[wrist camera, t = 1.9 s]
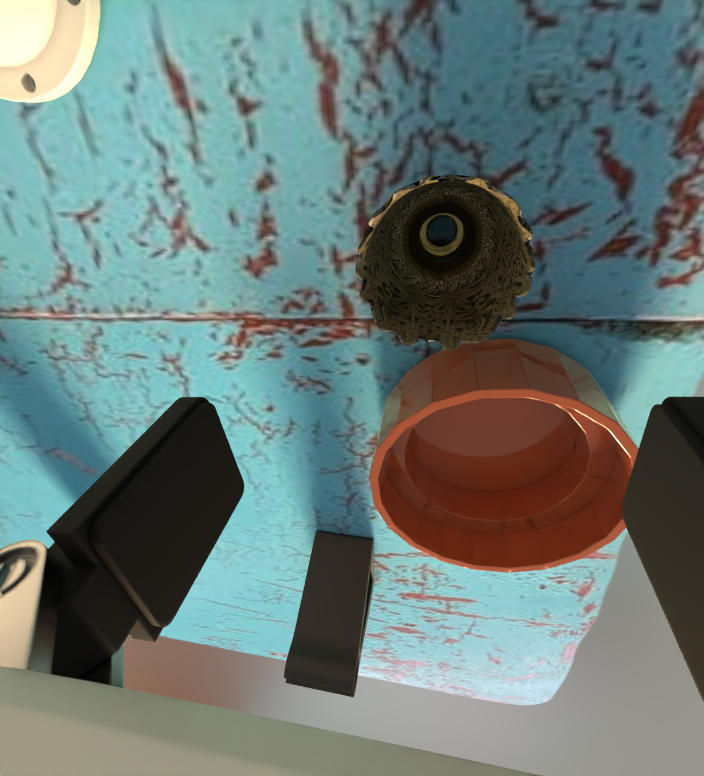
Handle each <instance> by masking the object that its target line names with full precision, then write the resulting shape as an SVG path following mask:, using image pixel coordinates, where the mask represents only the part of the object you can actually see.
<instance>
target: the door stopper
mask: <svg viewBox="0 0 704 776" xmlns="http://www.w3.org/2000/svg"><path fill="white" fill-rule="evenodd" d="M373 548H374V539H369V538H362V537H355V536H348V535H341V534H334V533H327V532H320V531H316V534H315V539H314V543H313V548H312V553H311V557H310V562H309V567H308V571H307V576H306V581H305V585H304V590H303V595H302V599H301V604H300V609H299V613H298V618H297V623H296V627H295V632H294V636H293V640H292V643H291V647H290V650H289V653H288V657H287V661H286V666H285V673H284V678H286V683H289V684H294V685H298V686H303V687H308V688H312V689H317V690H322V691H326V692H331V693H337V694H341V695H346V696H350V697H354V694H355V689H356V684H357V677H358V670H359V664H360V658H361V652H362V647H363V641H364V636H365V631H366V625H367V620H368V614H369V609H370V603H371V598H372V593H373Z"/></svg>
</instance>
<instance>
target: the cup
mask: <svg viewBox="0 0 704 776" xmlns="http://www.w3.org/2000/svg"><path fill="white" fill-rule="evenodd" d="M521 212H522V211H521V209H520V207H519V205H518V204H517V203H516V201H515V200H514V199H513V198H512V197H511V196H509V195H508V194H507V193H505V192H504V191H503V190H501V189H500V188H498V187H496V186H494V185H492V184H490V183H489V182H488V181H487V180H485V179H482V178H479V177H474V176H461V175H444V176H437V175H435V176H431V177H427V178H424V179H421V180H419V181H417V182H415V183H412V184H410V185H407V186H405V187H403V188H401V189H399V190H398V191H396V192H395V193H393V194H392V195H391V196H390V198H389V199H388V200H387V202H386V203H385V204H384V205H383V206H382V207H381V208H380V209H379V210H378V211H376V212H375V213H374V215H373V216H372V217H371V219H370V221H369V223H368V224H369V225H370V227H369V229H368V230H367V231H366V232H365V234H364V236H363V239H362V241H361V243H360V245H359V248H358V256H359V258H358V259H357V263H356V275H357V277H358V278H359V279H361V280H363V285H362V288H361V291H360V298H361V300H362V301H366V302H368V303H370V306H371V311H372V316H373V319H374V321H375V323H376V325H377V327H378V328H380V329H381V330H383V331H385V332H388V333H393V334H396V335H398V338H399V340H400V341H401V342H402V343H403V344H404V345H406V346H413V345H414V344H415V343H417V342H418V340H419V339H424V340H425V341H427V342H432V341H439V342H440V343H441V344H442V345H443V346H442V347H443V349H446V350H454V349H456V348H457V347H458V346H459V345H460V344H461V342H464V343H468V344H472V343H478V342H481V341H485V340H486V339H488V338H489V337H490V336H491V334H492V333H493V332H494V330H495V329H496V328H497V325H498V323H499V322H500V321H501V319H502V318H503V317H504V318H506V319H511V318H513V317H514V316H515V314H516V305H515V297H522V296H525V295H526V294H527V293H528V291H529V290H530V287H531V283H532V277H531V275H530V274H532V271H533V270H534V269H535V263H534V258H533V251H532V247H531V246H530V244H529V241H530V240H532V230H531V228H530V227H529V225H528V224H527V223H526V222H525V220H524V218H523V216H522V213H521ZM438 217H448V218H450V219H451V220H452V221H453V222H454V224H455V226H456V234H455V237H454V239H453V240H452V241H451V242H450V243H449V244H447V245H444V246H437V245H434V244H433V243H432V242H431V241H430V240H429V238H428V234H427V231H428V227H429V225H430V223H431V222H432V221H433V220H434V219H436V218H438ZM503 320H504V319H503Z"/></svg>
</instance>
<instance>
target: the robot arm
mask: <svg viewBox="0 0 704 776" xmlns="http://www.w3.org/2000/svg"><path fill="white" fill-rule="evenodd" d="M99 21H100V0H0V98H2V99H6V100H11V101H15V102H34V103H37V102H43V101H49V100H54V99H56V98H58V97H60V96H62V95H64V94H66V93H68V92H69V91H70V90H71V89H72V88H73V87H74V86H75V85H76V84H77V83H78V82H79V81H80V80H81V78H82V77H83V75H84V73H85V71H86V70H87V68H88V66H89V64H90V63H91V60H92V56H93V53H94V50H95V46H96V43H97V39H98V30H99ZM243 492H244V482H243V479H242V476H241V474H240V471H239V468H238V466H237V463H236V461H235V458H234V455H233V453H232V450H231V448H230V445H229V442H228V440H227V437H226V435H225V432H224V429H223V427H222V424H221V421H220V419H219V416H218V414H217V411H216V408H215V407H214V405H213V404H211V403H209V401H208V400H207V399H206V398H203V397H182V398H179V399H178V400H176V401H175V402H174V403H173V404H172V405H171V406H170V407H169V408H168V409H167V410H166V411H165V412H164V413H163V414H162V415H161V416H160V417H159V418H158V419H157V420H156V421H155V423H154V424H153V425H152V426H151V427H150V428H149V429H148V430H147V431H146V432H145V433H144V434H143V435H142V436H141V437H140V438H139V439H138V440H137V441H136V442H135V443H134V444H133V445H132V446H131V447H130V448H129V449H128V450H127V451H126V452H125V453H124V454H123V455H122V456H121V457H120V458H119V459H118V460H117V461H116V462H115V463H114V464H113V465H112V466H111V467H110V468H109V469H108V470H107V471H106V472H105V473H104V474H103V475H102V476H101V477H100V478H99V479H98V480H97V481H96V482H95V483H94V484H93V485H92V486H91V487H90V488H89V489H88V490H87V491H86V492H85V493H84V494H83V495H82V496H81V497H80V498H79V499H78V500H77V501H76V502H75V503H74V504H73V505H72V506H71V507H70V508H69V509H68V510H67V511H66V512H65V513H64V514H63V515H62V516H61V517H60V518H59V519H58V520H57V521H56V522H55V523H54V524H53V525H52V526H51V527H50V528H49V529H48V530H47V531H46V532H47V533H48V534H49V535H50V537H51V538H52V539H53V540H54V542H55V543H54V544H53V545H52V546H51V547H50V548H49V549H48V548H47V547H46V546H45V545H44V544H43V543H42V542H41V541H37V540H24V541H19V542H16V543H13V544H10V545H8V546H6V547H4V548H2V549H0V776H541V775H536V774H531V773H527V772H522V771H518V770H513V769H508V768H504V767H499V766H494V765H490V764H485V763H480V762H476V761H471V760H466V759H462V758H457V757H452V756H448V755H443V754H438V753H433V752H429V751H424V750H420V749H414V748H410V747H405V746H401V745H396V744H391V743H386V742H381V741H376V740H372V739H367V738H362V737H357V736H353V735H348V734H343V733H338V732H333V731H329V730H324V729H319V728H315V727H310V726H305V725H300V724H295V723H290V722H286V721H281V720H276V719H272V718H266V717H262V716H257V715H252V714H247V713H242V712H237V711H233V710H228V709H223V708H219V707H214V706H208V705H204V704H199V703H194V702H189V701H184V700H179V699H174V698H170V697H164V696H160V695H154V694H150V693H145V692H140V691H135V690H130V689H125V688H124V665H123V642H124V641H125V639H126V638H127V636H128V635H129V634H130V635H131V636H132V637H133V638H134V639H140V640H145V641H151V642H155V641H156V640H157V638H158V636H159V634H160V633H161V631H162V629H163V627H166V626H168V625H169V624H170V623H171V622H172V620H173V619H174V617H175V615H176V613H177V612H178V610H179V608H180V606H181V604H182V603H183V601H184V599H185V597H186V596H187V594H188V592H189V590H190V588H191V587H192V585H193V583H194V581H195V579H196V578H197V576H198V574H199V572H200V570H201V569H202V567H203V565H204V563H205V562H206V560H207V558H208V556H209V554H210V553H211V551H212V549H213V547H214V545H215V544H216V542H217V540H218V538H219V537H220V535H221V533H222V531H223V529H224V528H225V526H226V524H227V522H228V520H229V519H230V517H231V515H232V513H233V512H234V510H235V508H236V506H237V504H238V503H239V501H240V499H241V497H242V495H243ZM621 510H622V517H623V520H624V523H625V525H626V528H627V530H628V532H629V534H630V537H631V539H632V541H633V543H634V546H635V548H636V550H637V552H638V555H639V557H640V559H641V562H642V564H643V566H644V568H645V571H646V573H647V575H648V577H649V580H650V582H651V584H652V586H653V589H654V591H655V593H656V595H657V598H658V600H659V602H660V605H661V607H662V609H663V611H664V614H665V616H666V618H667V620H668V623H669V625H670V627H671V629H672V632H673V634H674V636H675V639H676V641H677V643H678V645H679V648H680V650H681V652H682V654H683V657H684V659H685V661H686V663H687V666H688V668H689V670H690V672H691V675H692V677H693V679H694V682H695V684H696V686H697V688H698V690H699V693H700V695H701V697H702V700H703V701H704V397H668V398H666V399H665V400H664V401H663V403H662V405H654V406H653V408H652V409H651V412H650V415H649V418H648V421H647V424H646V428H645V431H644V434H643V437H642V440H641V444H640V447H639V450H638V453H637V456H636V459H635V463H634V466H633V469H632V472H631V475H630V479H629V482H628V485H627V488H626V491H625V495H624V498H623V501H622V508H621Z"/></svg>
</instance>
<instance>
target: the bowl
mask: <svg viewBox="0 0 704 776" xmlns="http://www.w3.org/2000/svg"><path fill="white" fill-rule="evenodd" d="M638 450H639V448H638V446H637V444H636V443H635V441H634V439H633V438H632V436H631V434H630V433H629V431H628V429H627V428H626V426H625V424H624V423H623V421H622V420H621V418H620V416H619V414H618V413H617V411H616V409H615V408H614V406H613V404H612V403H611V401H610V399H609V398H608V396H607V394H606V393H605V392H604V390H603V389H602V388H601V386H600V385H599V384H598V382H597V381H596V380H595V378H594V377H593V376H592V375H591V373H590V372H589V371H588V369H587V368H586V367H585V366H583V365H581V364H580V363H578V362H576V361H575V360H573V359H571V358H570V357H568V356H566V355H565V354H563V353H561V352H560V351H558V350H556V349H554V348H552V347H548V346H544V345H539V344H535V343H531V342H526V341H522V340H518V339H493V340H485V341H481V342H478V343H472V344H468V343H462V344H460V345H459V346H458V347H457V348H456V349H454V350H446V349H444V350H441V351H438V352H435V353H433V354H432V355H430V356H429V357H427V358H426V359H424V360H423V361H422V362H420V363H419V364H417V365H416V366H414V367H413V368H411V369H410V370H408V371H407V372H406V373H405V374H404V375H403V376H402V378H401V379H400V380H399V382H398V383H397V384H396V386H395V387H394V388H393V390H392V391H391V393H390V394H389V395H388V397H387V399H386V402H385V406H384V410H383V413H382V417H381V421H380V425H379V430H378V435H377V440H376V445H375V450H374V455H373V460H372V465H371V470H370V475H369V479H370V485H371V491H372V497H373V502H374V505H375V506H376V508H377V510H378V511H379V513H380V514H381V516H382V518H383V519H384V521H385V522H386V524H387V526H388V527H389V528H390V529H391V530H393V531H394V532H395V533H396V534H397V535H399V536H400V537H401V538H402V539H403V540H404V541H406V542H407V543H408V544H409V545H410V546H412V547H414V548H416V549H418V550H420V551H422V552H424V553H426V554H428V555H430V556H432V557H434V558H436V559H438V560H440V561H443V562H446V563H450V564H454V565H458V566H461V567H465V568H469V569H473V570H484V571H497V572H522V571H532V570H542V569H549V568H552V567H555V566H559V565H562V564H565V563H569V562H572V561H575V560H579V559H582V558H584V557H586V556H588V555H589V554H591V553H593V552H595V551H596V550H598V549H600V548H602V547H603V546H605V545H607V544H608V543H610V542H612V541H613V540H615V539H616V538H617V537H618V535H619V534H620V533H621V532H622V531H623V530H624V529H625V528H626V525H625V523H624V520H623V517H622V510H621V508H622V501H623V498H624V495H625V491H626V488H627V485H628V482H629V479H630V475H631V472H632V469H633V466H634V463H635V459H636V456H637V453H638Z"/></svg>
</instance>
